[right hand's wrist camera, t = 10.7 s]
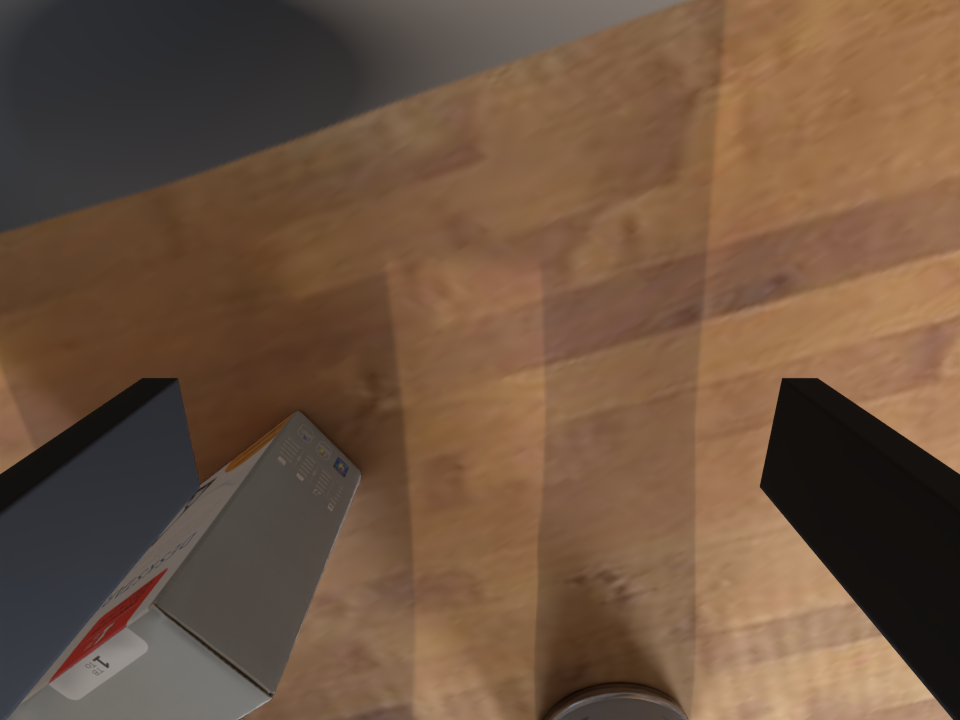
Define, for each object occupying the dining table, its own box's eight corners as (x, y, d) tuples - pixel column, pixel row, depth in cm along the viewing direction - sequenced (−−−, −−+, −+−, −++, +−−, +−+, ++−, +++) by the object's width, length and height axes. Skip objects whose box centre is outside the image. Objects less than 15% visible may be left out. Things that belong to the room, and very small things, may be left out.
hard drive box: (298, 404, 43) (157, 601, 24) (365, 472, 45) (284, 701, 26) (164, 510, 46) (-51, 754, 27) (232, 568, 48) (77, 832, 30)
